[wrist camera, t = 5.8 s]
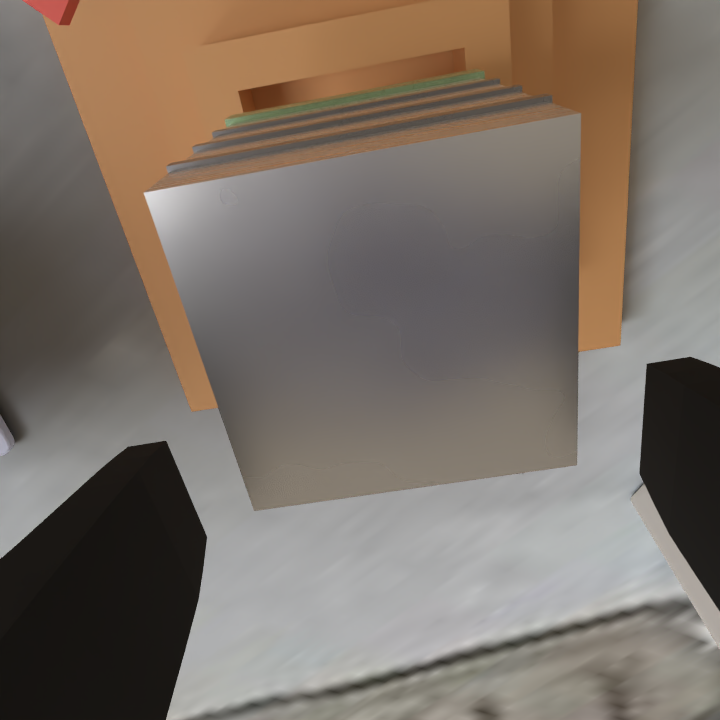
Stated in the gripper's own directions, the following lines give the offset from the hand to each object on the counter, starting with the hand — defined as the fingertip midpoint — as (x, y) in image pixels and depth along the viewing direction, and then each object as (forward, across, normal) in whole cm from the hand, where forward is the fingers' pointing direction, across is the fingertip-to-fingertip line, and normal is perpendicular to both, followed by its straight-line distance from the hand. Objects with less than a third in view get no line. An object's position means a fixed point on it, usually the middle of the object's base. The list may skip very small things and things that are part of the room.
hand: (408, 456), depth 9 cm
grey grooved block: (+4, 0, -3) cm, 5 cm away
